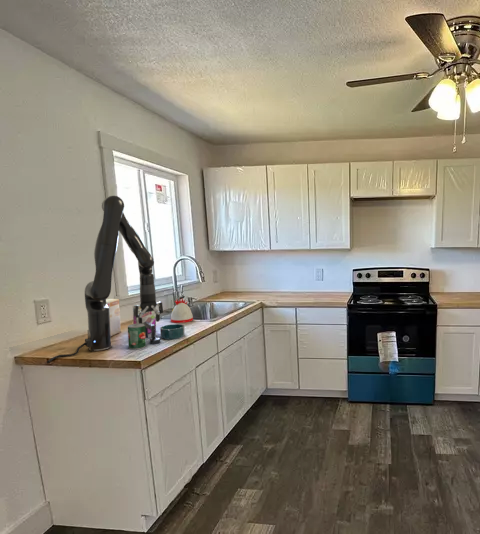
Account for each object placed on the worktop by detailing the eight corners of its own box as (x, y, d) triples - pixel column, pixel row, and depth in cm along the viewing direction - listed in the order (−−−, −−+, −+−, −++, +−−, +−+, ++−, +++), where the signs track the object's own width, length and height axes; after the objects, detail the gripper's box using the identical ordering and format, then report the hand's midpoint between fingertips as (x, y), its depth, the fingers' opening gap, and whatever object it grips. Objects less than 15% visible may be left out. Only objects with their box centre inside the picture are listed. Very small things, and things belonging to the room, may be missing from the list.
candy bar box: (137, 336, 192) (136, 306, 191) (133, 334, 195) (132, 305, 194) (156, 331, 201) (155, 303, 199) (152, 330, 204) (151, 302, 203)
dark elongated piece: (161, 342, 179) (161, 325, 178) (151, 344, 176) (151, 327, 175) (150, 336, 191) (149, 320, 190) (140, 338, 187) (140, 322, 187)
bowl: (166, 341, 182) (165, 330, 181) (157, 336, 191) (156, 326, 191) (188, 336, 190) (188, 326, 190) (178, 332, 199) (178, 322, 199)
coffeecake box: (109, 331, 201) (108, 298, 200) (121, 332, 201) (119, 298, 199) (92, 339, 187) (90, 303, 185) (104, 339, 186) (102, 303, 184)
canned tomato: (147, 347, 171) (146, 325, 170) (129, 350, 167) (128, 327, 166) (144, 343, 178) (143, 322, 177) (127, 346, 174) (126, 324, 173)
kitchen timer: (170, 319, 233) (169, 297, 232) (192, 317, 238) (191, 295, 237) (171, 323, 220) (170, 300, 219) (193, 321, 225) (192, 298, 224)
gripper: (158, 290, 190) (160, 319, 192) (131, 293, 181) (132, 324, 182) (164, 291, 185) (165, 321, 186) (136, 295, 175) (137, 326, 177)
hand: (149, 322), depth 184 cm, fingers open, 8 cm apart
